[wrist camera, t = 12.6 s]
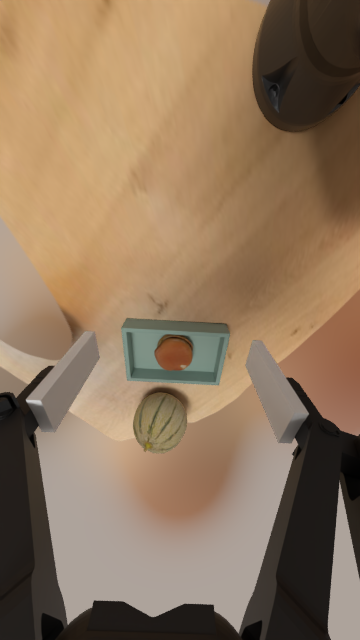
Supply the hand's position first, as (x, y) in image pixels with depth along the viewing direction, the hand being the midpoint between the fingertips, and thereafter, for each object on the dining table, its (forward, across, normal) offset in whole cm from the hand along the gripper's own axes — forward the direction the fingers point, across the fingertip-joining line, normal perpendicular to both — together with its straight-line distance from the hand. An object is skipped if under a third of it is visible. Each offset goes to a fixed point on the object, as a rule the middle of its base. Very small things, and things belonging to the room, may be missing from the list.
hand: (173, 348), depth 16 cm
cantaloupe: (+27, -3, -40) cm, 48 cm away
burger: (+26, 0, -19) cm, 33 cm away
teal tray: (+27, 0, -20) cm, 33 cm away
